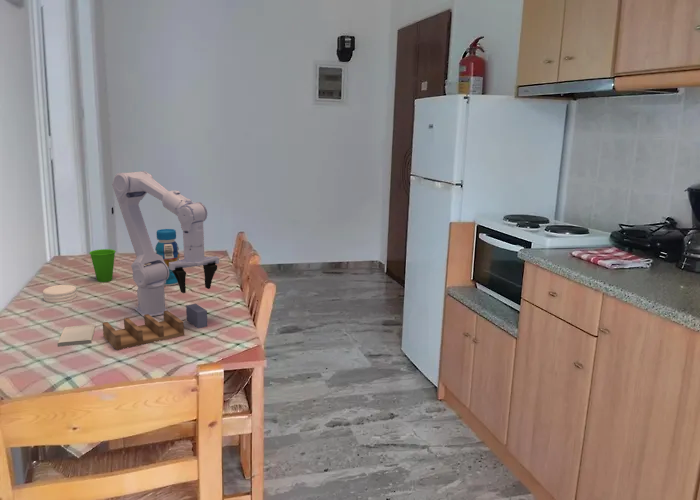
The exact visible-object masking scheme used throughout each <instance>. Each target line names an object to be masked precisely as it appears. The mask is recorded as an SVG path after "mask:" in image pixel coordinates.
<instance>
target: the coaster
mask: <svg viewBox="0 0 700 500" xmlns="http://www.w3.org/2000/svg"><path fill="white" fill-rule="evenodd" d="M42 295H43V296H42V297H43V302H47V303H64V302H69V301H72V300H74V299H77V295H78V294H77V287H76V286H74V285H72V284H60V285H59V284H58V285H53V286H52V285H51V286H48V287H46V288H44V289H43V290H42Z"/></svg>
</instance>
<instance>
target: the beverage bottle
mask: <svg viewBox="0 0 700 500" xmlns="http://www.w3.org/2000/svg"><path fill="white" fill-rule="evenodd" d="M155 234H156V240H157V241H158V242H157V243H156V245H155V248H154V249H155V253H156V254H158V255H160V256H162V257H163V260H164V262H165V264H166V265H167V266H168V268H169V262H174V261H179V260H180V253H179V249H180V247H179V244H178V243H177V242H176V239H177V232H176V229H174V228H163V229H157V230H156V233H155ZM177 285H179V284H178V281H177V279H176V277H175V275H174V273H173V272H172V270H170V269H169V277H168V279H167V280H166V283H165V284H164V287H171V286H177Z"/></svg>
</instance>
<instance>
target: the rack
mask: <svg viewBox="0 0 700 500" xmlns="http://www.w3.org/2000/svg"><path fill="white" fill-rule="evenodd" d="M168 310H169V309H167V311H164V314H163V320H162V321H158V320H156V319H155V318H154V316H152V317H151V316H150V315H149V314H146V315H144V316H143V317H144V318H143V320H144V324H142V325H137V324H135V322H134V321H132V319H130V318H129V317H126V318H123V325H124V327H123V328H121V329H117V330H116V329H115V328H114V327H113V326H112V325H111V324H110V323H109V322H108V321H105V322H102V333H103V334H102V336H103V338H105V340H106V342H108V343H109V344H110V345H111V346H112V348H114V349H115V350H116V351H120V350H123V348H124V349H128V348H127V347H129V348H132V346H134V347H137V346H136V345H138V346H142V345H141V344H143V345H146V343H147V344H150V342H152V343H155V342H154V341H156V342H160V341H159V340H161V341H164V340H163V339H165V340H169V338H170V339H173V338H174V339H175V338H178V337H183V336H185V326H184V322H185V321H183V320H181V319H180V318H178V316H176V315H175V314H173V313H172V312H171V311H170V310H169V311H170V312H169V311H168ZM119 349H120V350H119Z"/></svg>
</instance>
